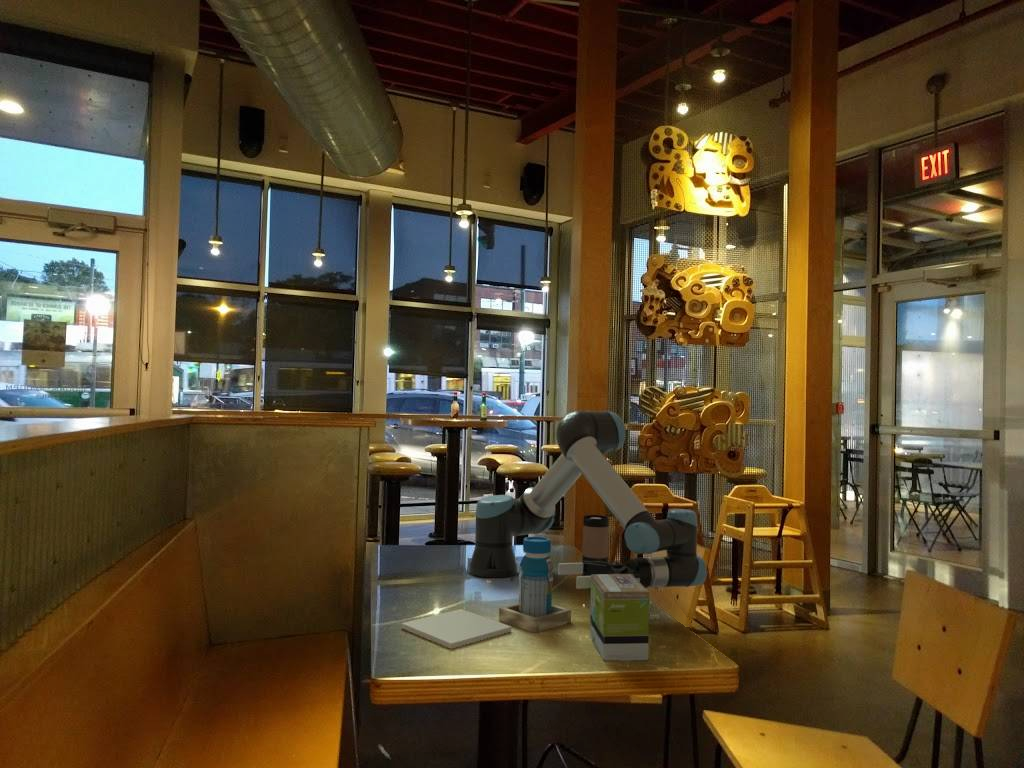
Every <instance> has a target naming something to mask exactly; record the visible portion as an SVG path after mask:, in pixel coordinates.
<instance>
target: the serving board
mask: <svg viewBox="0 0 1024 768" xmlns="http://www.w3.org/2000/svg"><path fill="white" fill-rule="evenodd" d="M401 629H402V630H404V629H405V630H404V631H406V630H407V632H409V633H411V632H412V633H411V634H414V635H416V636H418V635H419V637H421V638H423V637H424V638H423V639H425V638H426V640H428V641H430V640H431V641H430V642H433V643H435V642H436V644H437V643H438V644H437V645H440V644H441V645H440V646H442V645H443V646H442V647H444V648H447V647H448V648H447V649H449V648H450V650H453V649H456V647H457V648H460V647H463V645H464V646H466V644H467V645H470V643H471V644H475V643H477V641H478V642H480V640H481V641H485V640H487V638H488V639H491V638H490V637H492V638H494V636H495V637H499V636H501V634H502V635H505V634H504V633H506V634H509V633H511V632H512V626H510V625H509V624H506V623H503V622H499V621H496V620H493V619H492V618H491V619H490V618H488V617H485V616H482V615H479V614H478V613H477V614H476V613H474V612H471V611H467V610H465V609H462V608H460V609H455V610H452V611H447V612H443V613H440V614H439V613H438V614H436V615H432V616H425V617H422V618H419V619H418V618H417V619H414V620H410V621H405V622H402V623H401ZM508 632H509V633H508ZM498 635H499V636H498ZM484 639H485V640H484ZM452 648H453V649H452Z"/></svg>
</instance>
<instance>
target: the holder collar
mask: <svg viewBox="0 0 1024 768" xmlns="http://www.w3.org/2000/svg"><path fill="white" fill-rule="evenodd" d="M500 620H501V621H500ZM498 621H500V622H502V621H504V622H503V623H505V622H507V623H506V624H508V623H509V624H508V625H511V624H512V626H514V625H515V626H514V627H517V626H518V628H520V627H521V628H520V629H523V630H525V629H526V631H528V630H529V632H531V631H532V633H535V634H537V633H541V632H545V631H547V629H548V630H551V629H554V628H557V626H558V627H560V625H561V626H563V624H564V625H568V624H571V623H572V609H569V608H566V607H562V606H559V605H555V604H553V603H552V613H551V614H548V615H544V616H540V617H537V618H535V617H532V616H529V615H526V614H523V613H520V612H519V602H517V603H514V604H510V605H505V606H502V607H499V608H498ZM567 623H568V624H567ZM550 628H551V629H550Z"/></svg>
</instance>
